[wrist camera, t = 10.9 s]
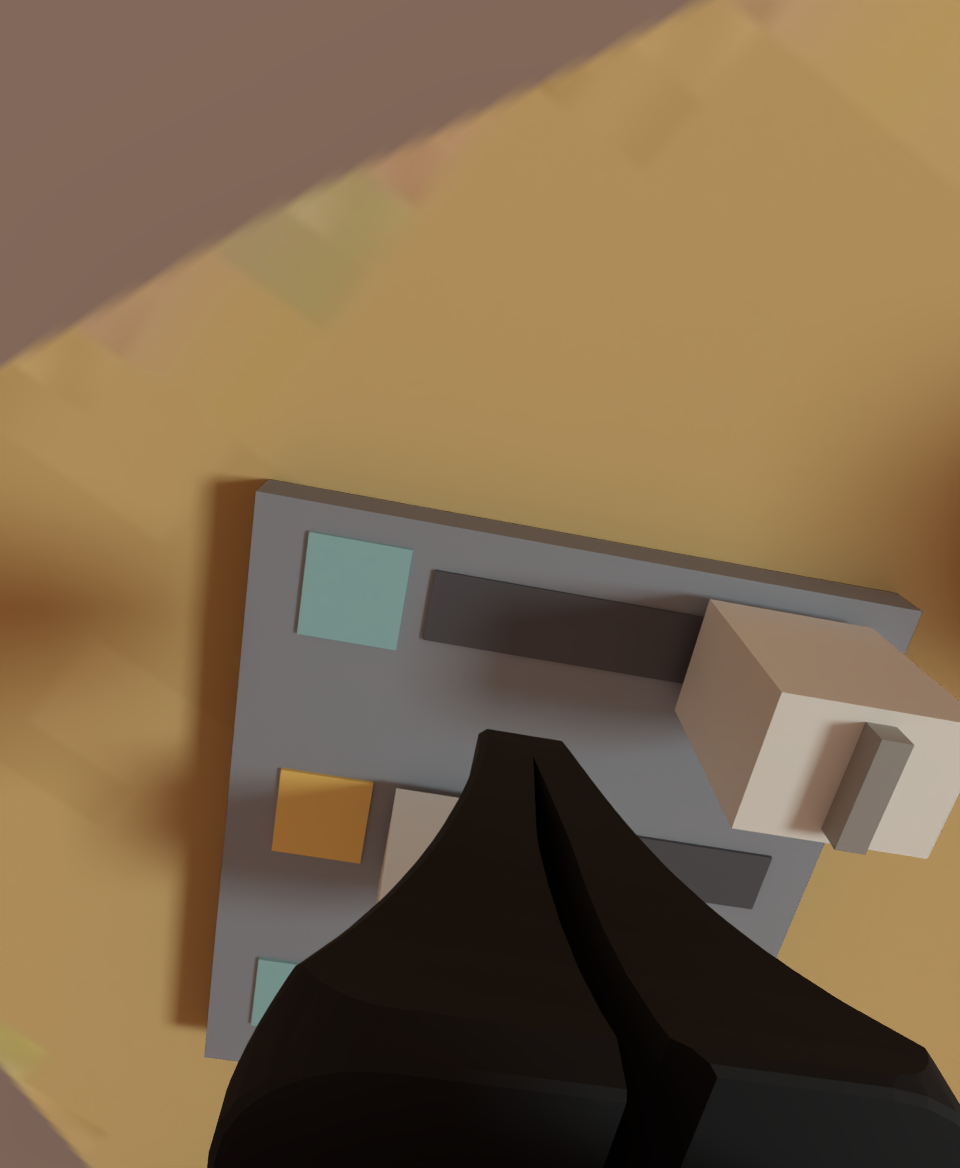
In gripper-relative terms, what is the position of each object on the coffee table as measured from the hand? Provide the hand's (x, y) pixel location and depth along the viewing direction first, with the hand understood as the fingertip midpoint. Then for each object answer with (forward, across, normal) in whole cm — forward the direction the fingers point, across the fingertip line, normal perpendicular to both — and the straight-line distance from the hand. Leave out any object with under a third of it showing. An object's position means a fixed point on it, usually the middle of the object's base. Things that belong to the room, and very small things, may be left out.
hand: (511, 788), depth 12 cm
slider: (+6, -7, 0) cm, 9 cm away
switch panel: (+8, -2, +7) cm, 11 cm away
